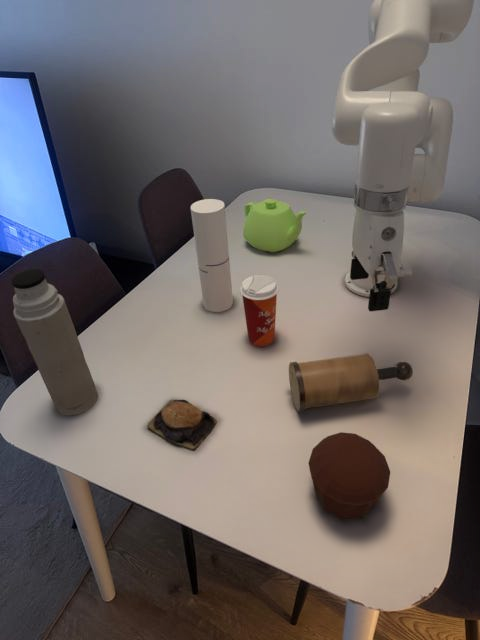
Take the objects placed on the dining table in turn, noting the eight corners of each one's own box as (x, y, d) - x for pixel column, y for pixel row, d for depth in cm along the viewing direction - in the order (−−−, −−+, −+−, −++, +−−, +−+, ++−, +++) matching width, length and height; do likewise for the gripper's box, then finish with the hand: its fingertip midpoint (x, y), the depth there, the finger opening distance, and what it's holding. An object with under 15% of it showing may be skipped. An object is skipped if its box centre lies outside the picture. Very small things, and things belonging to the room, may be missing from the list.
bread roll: (144, 430, 82) (140, 416, 79) (174, 399, 87) (170, 385, 85) (192, 454, 77) (189, 440, 75) (220, 419, 82) (218, 405, 80)
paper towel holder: (288, 386, 88) (398, 370, 89) (299, 421, 81) (418, 403, 82) (288, 352, 82) (405, 336, 84) (300, 386, 76) (427, 368, 77)
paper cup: (268, 353, 96) (266, 298, 87) (237, 342, 99) (232, 288, 91) (285, 332, 101) (285, 278, 92) (255, 322, 104) (252, 269, 96)
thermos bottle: (51, 418, 85) (-8, 292, 68) (60, 387, 92) (8, 265, 75) (94, 413, 86) (46, 287, 69) (100, 382, 92) (58, 260, 75)
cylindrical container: (229, 313, 108) (220, 213, 93) (200, 311, 109) (186, 212, 94) (235, 295, 113) (227, 199, 98) (207, 294, 115) (195, 198, 100)
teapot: (321, 244, 131) (323, 200, 124) (290, 266, 123) (290, 221, 115) (261, 225, 144) (259, 184, 136) (229, 244, 135) (225, 201, 127)
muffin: (302, 463, 74) (303, 422, 68) (370, 457, 74) (377, 415, 68) (316, 535, 65) (319, 494, 59) (394, 527, 65) (405, 486, 59)
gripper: (430, 217, 61) (409, 320, 71) (384, 174, 75) (372, 266, 85) (375, 222, 61) (362, 326, 71) (339, 178, 75) (332, 270, 85)
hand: (368, 293), depth 78 cm, fingers open, 9 cm apart
